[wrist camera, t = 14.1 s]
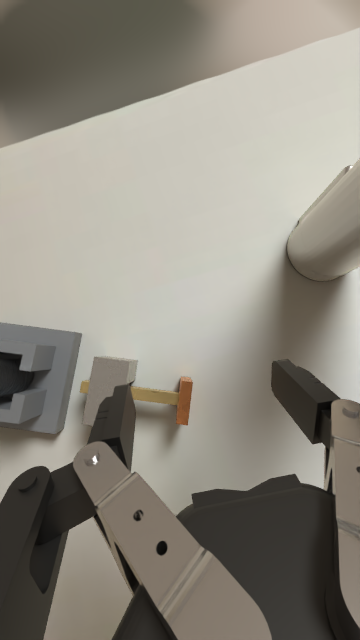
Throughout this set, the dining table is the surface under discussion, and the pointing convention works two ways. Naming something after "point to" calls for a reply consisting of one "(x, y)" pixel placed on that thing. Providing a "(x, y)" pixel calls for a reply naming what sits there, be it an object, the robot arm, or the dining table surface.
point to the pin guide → (106, 382)
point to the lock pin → (162, 397)
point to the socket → (39, 376)
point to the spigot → (13, 377)
